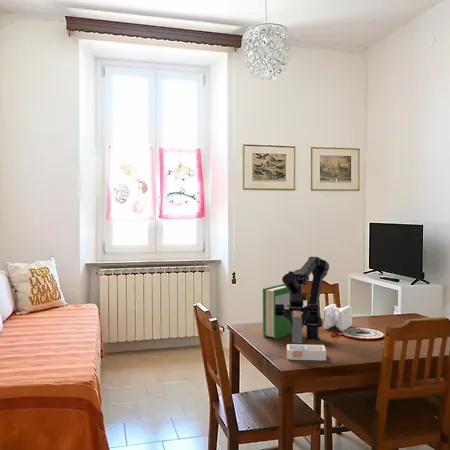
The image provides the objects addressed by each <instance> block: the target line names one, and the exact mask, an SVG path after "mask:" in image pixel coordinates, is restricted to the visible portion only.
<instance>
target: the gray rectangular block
mask: <svg viewBox="0 0 450 450" xmlns="http://www.w3.org/2000/svg"><path fill="white" fill-rule="evenodd" d="M292 325H293V327H292V333H291V337H292V339H291V340H292V344H303V328H302V312H301V311H293V315H292Z"/></svg>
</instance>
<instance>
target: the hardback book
mask: <svg viewBox="0 0 450 450" xmlns="http://www.w3.org/2000/svg"><path fill="white" fill-rule="evenodd" d="M276 304H284V306H289V307H290V295H289V290H288V289H287V288H286V286H285V284H284V283H282V284H278V285H272V286H269V287H265V288H262V337H263V338H266V337H271V338H273V339H274V340H278V339H280V338H284V337H286V336H288V335H292V327H291V325H290V323H289V321H288V320H287V318H286V317H284V315H282V316H276V315H275V305H276ZM292 315H293V312H291V317H292Z"/></svg>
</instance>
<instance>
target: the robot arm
mask: <svg viewBox="0 0 450 450" xmlns="http://www.w3.org/2000/svg"><path fill="white" fill-rule="evenodd" d="M329 270H330V264H329V262H328V261H327V260H324V259H323V258H321V257H318V256H309V257H308V259H307V260H306V262H305V263H304V264H303V265H302V266H301V267H300V268H299V269H296V270H294V271H289V270H288V273H285V274H284V275H283V276H282V278H281V280H282V282H283V283H282V284H285V286H286V288H287V289H288V290H289V295H290V307H289V306H284V304H276V305H275V315H276V316H282V315H284V317H286V318H287V320H288V321H289V323H290V325H291V327H293V325H292V317H291V312H293V311H301V315H302V329H303V328H304V326H306V334H305V340H308V341H309V340H310V341H311V340H314V341H319V340H321V338H320V336H319V328H322V327H323V325H324V320H323V319H322V317H321V312H320V308H319V303H320V302H319V301H320V297H321V292H322V286H323V279H325V278H326V276H327V275H328V271H329ZM311 274H312V282H311V287H310V292H309V297H308V292H303V286H306V285H308V283H309V281H310V275H311ZM306 301H308V303H307V305H305V306H304V302H306Z"/></svg>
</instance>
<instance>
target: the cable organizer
mask: <svg viewBox="0 0 450 450" xmlns="http://www.w3.org/2000/svg"><path fill="white" fill-rule="evenodd" d="M352 325H353V306H352V305H346V306H344V307H337V304H336V303H331V304H330V305H326V306H325V307H324V308H323V328H324V329H326V330H329V329H330V328H332V327H334V326H336V328H338V330H339V331H341V332H345V331H346V330H347V329H349V328H350V327H352Z"/></svg>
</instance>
